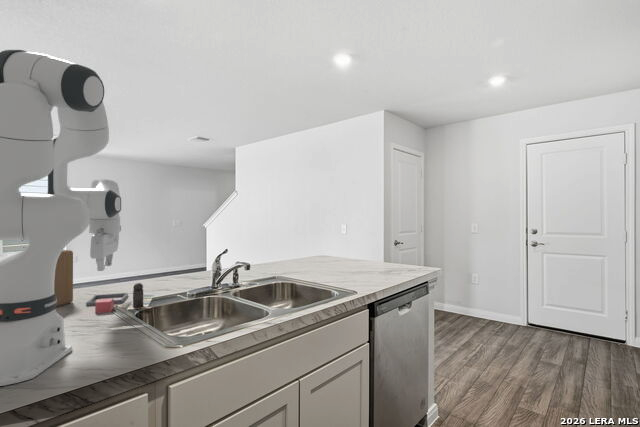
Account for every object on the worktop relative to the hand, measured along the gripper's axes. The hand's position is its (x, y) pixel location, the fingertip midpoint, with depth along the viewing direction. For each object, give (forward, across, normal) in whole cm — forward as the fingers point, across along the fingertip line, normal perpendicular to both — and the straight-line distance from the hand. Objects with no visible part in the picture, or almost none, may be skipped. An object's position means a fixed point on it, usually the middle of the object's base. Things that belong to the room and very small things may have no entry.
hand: (104, 268), depth 113 cm
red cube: (+15, 0, 0) cm, 15 cm away
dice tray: (+15, +14, +2) cm, 21 cm away
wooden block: (+16, +17, +21) cm, 31 cm away
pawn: (+14, +1, -10) cm, 18 cm away
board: (+15, +9, -10) cm, 20 cm away
